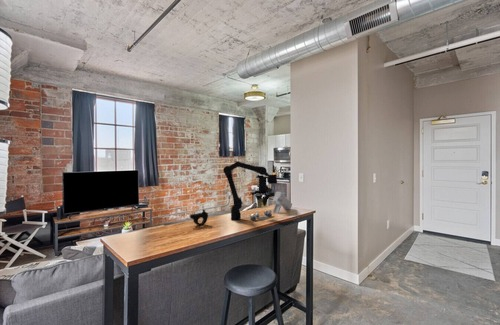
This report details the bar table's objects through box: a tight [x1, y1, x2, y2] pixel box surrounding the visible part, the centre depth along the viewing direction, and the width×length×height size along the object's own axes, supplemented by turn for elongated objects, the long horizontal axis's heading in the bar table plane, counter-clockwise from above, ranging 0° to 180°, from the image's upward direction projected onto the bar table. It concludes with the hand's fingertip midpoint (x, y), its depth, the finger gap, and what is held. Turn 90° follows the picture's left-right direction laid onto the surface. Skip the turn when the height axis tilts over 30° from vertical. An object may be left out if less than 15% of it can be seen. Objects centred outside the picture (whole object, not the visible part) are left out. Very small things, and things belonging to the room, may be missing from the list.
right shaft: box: [263, 209, 273, 218], centre depth 186 cm, size 6×4×5 cm, turn 145°
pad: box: [256, 215, 270, 221], centre depth 180 cm, size 8×6×1 cm
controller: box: [189, 209, 209, 226], centre depth 164 cm, size 4×12×10 cm, turn 122°
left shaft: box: [249, 212, 260, 222], centre depth 176 cm, size 6×4×5 cm, turn 121°
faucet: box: [272, 191, 293, 214], centre depth 203 cm, size 6×16×20 cm
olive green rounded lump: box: [257, 197, 269, 209], centre depth 180 cm, size 6×4×6 cm, turn 133°
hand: (262, 205), depth 180 cm, fingers closed on olive green rounded lump, 4 cm apart
